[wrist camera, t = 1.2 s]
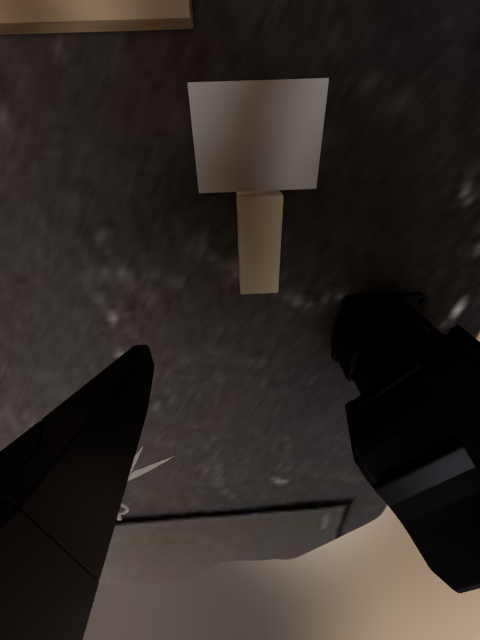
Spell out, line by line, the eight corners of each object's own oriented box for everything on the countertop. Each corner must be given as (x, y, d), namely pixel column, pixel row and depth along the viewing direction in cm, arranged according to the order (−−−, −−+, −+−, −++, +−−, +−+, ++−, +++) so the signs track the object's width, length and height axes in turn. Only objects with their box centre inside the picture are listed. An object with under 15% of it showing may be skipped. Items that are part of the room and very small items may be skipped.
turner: (324, 80, 14) (341, 71, 12) (303, 275, 20) (311, 291, 18) (189, 85, 14) (182, 76, 12) (208, 279, 20) (206, 295, 18)
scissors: (49, 502, 38) (117, 436, 30) (52, 495, 39) (119, 429, 31) (120, 520, 42) (196, 467, 34) (121, 515, 43) (197, 461, 35)
